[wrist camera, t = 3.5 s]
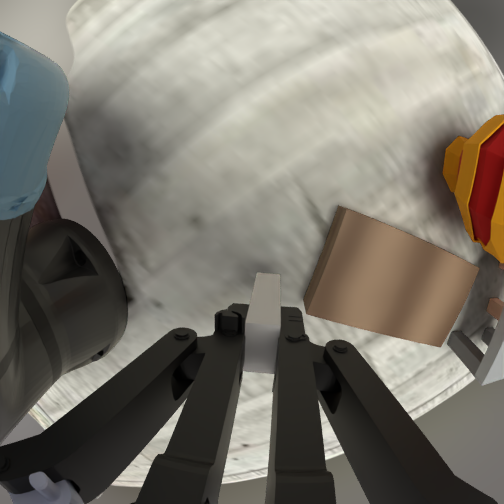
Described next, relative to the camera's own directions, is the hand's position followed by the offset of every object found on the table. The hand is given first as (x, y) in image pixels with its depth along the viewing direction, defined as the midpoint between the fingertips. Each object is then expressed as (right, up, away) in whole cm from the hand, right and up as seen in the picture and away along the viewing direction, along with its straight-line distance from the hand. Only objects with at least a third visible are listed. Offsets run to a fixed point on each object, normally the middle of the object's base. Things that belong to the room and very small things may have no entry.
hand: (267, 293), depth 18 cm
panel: (+11, 0, +3) cm, 12 cm away
